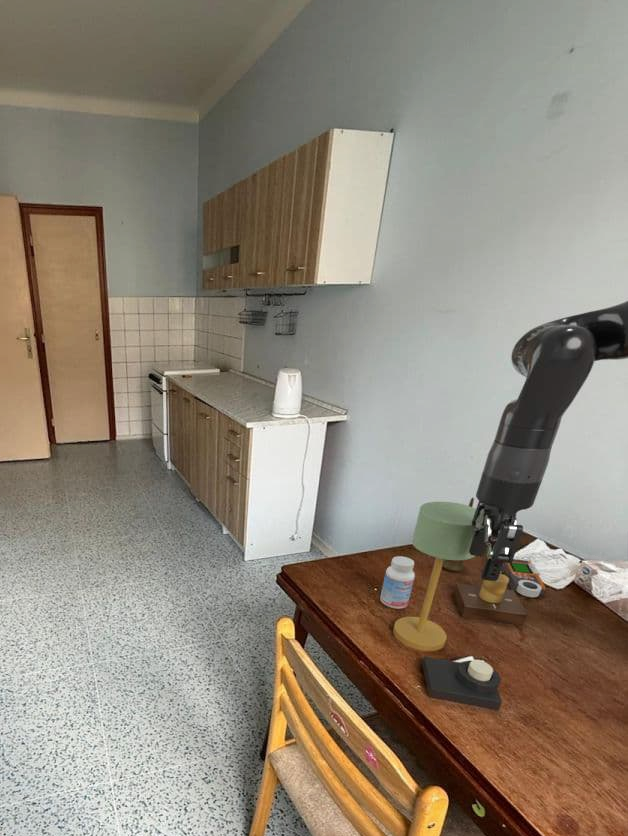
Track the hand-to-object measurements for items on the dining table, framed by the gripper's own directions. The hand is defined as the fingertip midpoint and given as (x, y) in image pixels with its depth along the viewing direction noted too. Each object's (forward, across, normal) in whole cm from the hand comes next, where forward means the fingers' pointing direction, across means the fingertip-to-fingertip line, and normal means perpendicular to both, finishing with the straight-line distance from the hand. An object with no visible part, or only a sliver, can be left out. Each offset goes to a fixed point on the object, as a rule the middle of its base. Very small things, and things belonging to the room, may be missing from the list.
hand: (481, 566), depth 78 cm
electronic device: (+24, +42, -24) cm, 54 cm away
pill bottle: (+24, +24, +7) cm, 35 cm away
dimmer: (+24, +27, -13) cm, 38 cm away
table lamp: (+24, +12, +3) cm, 27 cm away
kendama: (+24, +45, -9) cm, 52 cm away
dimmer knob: (+21, +27, -13) cm, 36 cm away
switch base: (+24, -2, -2) cm, 24 cm away
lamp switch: (+20, -2, -4) cm, 21 cm away
